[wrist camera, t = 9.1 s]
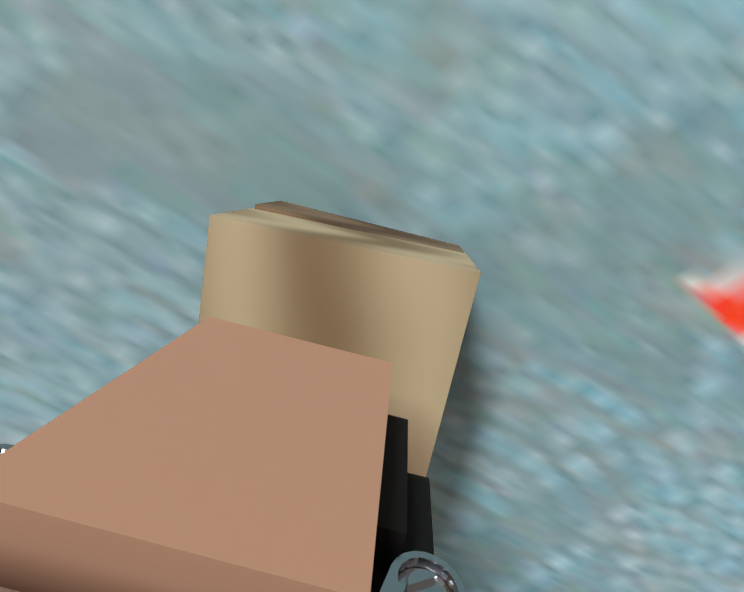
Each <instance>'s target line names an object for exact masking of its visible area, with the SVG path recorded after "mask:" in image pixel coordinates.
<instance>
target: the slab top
mask: <svg viewBox="0 0 744 592" xmlns="http://www.w3.org/2000/svg"><path fill="white" fill-rule="evenodd" d="M480 274H481V272H480V271H479V270H478V268H477V267H476V266H475V264H474V263H473V262H472V260H471V259H470V258H469V257H468V255H467V254H466V253H461V252H457V251H452V250H447V249H442V248H438V247H433V246H428V245H423V244H419V243H414V242H409V241H405V240H400V239H395V238H390V237H386V236H381V235H376V234H371V233H367V232H362V231H357V230H353V229H348V228H343V227H338V226H334V225H329V224H324V223H319V222H315V221H310V220H305V219H301V218H296V217H291V216H286V215H282V214H277V213H272V212H268V211H263V210H258V209H253V208H250V209H244V210H238V211H231V212H225V213H219V214H213V215H210V220H209V229H208V239H207V248H206V258H205V268H204V277H203V287H202V296H201V306H200V315H199V323H201V322H203V321H204V320H206V319H207V318H209V317H212V318H216V319H220V320H224V321H228V322H232V323H236V324H240V325H244V326H248V327H252V328H256V329H260V330H264V331H268V332H272V333H276V334H280V335H284V336H288V337H292V338H296V339H300V340H304V341H308V342H311V343H315V344H319V345H323V346H327V347H331V348H335V349H339V350H343V351H347V352H351V353H355V354H359V355H363V356H367V357H371V358H375V359H379V360H383V361H387V362H391V363H393V365H392V375H391V386H390V396H389V406H388V414H389V415H393V416H397V417H401V418H404V419H408V469H407V472H408V473H412V474H416V475H419V476H423V477H426V475H427V471H428V467H429V464H430V460H431V456H432V452H433V449H434V445H435V441H436V438H437V434H438V430H439V426H440V423H441V419H442V415H443V412H444V408H445V404H446V400H447V397H448V393H449V389H450V386H451V382H452V378H453V374H454V371H455V367H456V363H457V359H458V356H459V352H460V348H461V345H462V341H463V337H464V333H465V330H466V326H467V322H468V319H469V315H470V311H471V307H472V304H473V300H474V296H475V293H476V289H477V285H478V281H479V278H480Z"/></svg>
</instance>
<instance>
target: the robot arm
mask: <svg viewBox="0 0 744 592" xmlns="http://www.w3.org/2000/svg"><path fill="white" fill-rule="evenodd" d="M13 446H14V445H10V444H0V454H2V453H3V452H5V451H7V450H8V449H10V448H11V447H13ZM407 469H408V419H404V418H401V417H397V416H393V415H389V414H388V417H387V427H386V437H385V448H384V458H383V468H382V479H381V489H380V499H379V510H378V520H377V530H376V541H375V551H374V561H373V572H372V582H371V592H466V590H465V587H464V584H463V581H462V580H461V578H460V577H459V575H458V574H457V572H456V571H455V570H454V569H453V568H452V567H451V566H450V565H449V564H448V563H447V562H445V561H444V560H442V559H441V558H439V557H437V556H435V555H434V548H433V532H432V516H431V500H430V484H429V479H428V478H427V477H423V476H419V475H416V474H412V473H408V472H407ZM0 592H19V591H16V590H12V589H8V588H4V587H0Z"/></svg>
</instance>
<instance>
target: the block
mask: <svg viewBox="0 0 744 592" xmlns="http://www.w3.org/2000/svg"><path fill="white" fill-rule="evenodd" d="M392 365H393V363H391V362H387V361H383V360H379V359H375V358H371V357H367V356H363V355H359V354H355V353H351V352H347V351H343V350H339V349H335V348H331V347H327V346H323V345H319V344H315V343H311V342H308V341H304V340H300V339H296V338H292V337H288V336H284V335H280V334H276V333H272V332H268V331H264V330H260V329H256V328H252V327H248V326H244V325H240V324H236V323H232V322H228V321H224V320H220V319H216V318H212V317H209V318H207V319H206V320H204V321H203V322H201V323H199V324H198V325H196V326H195V327H193V328H192V329H190V330H189V331H187V332H186V333H184V334H183V335H181V336H180V337H178V338H177V339H175V340H174V341H172V342H171V343H169V344H168V345H166V346H165V347H163V348H161V349H160V350H158V351H157V352H155V353H154V354H152V355H151V356H149V357H148V358H146V359H145V360H143V361H142V362H140V363H139V364H137V365H136V366H134V367H133V368H131V369H130V370H128V371H127V372H125V373H123V374H122V375H120V376H119V377H117V378H116V379H114V380H113V381H111V382H110V383H108V384H107V385H105V386H104V387H102V388H101V389H99V390H98V391H96V392H95V393H93V394H92V395H90V396H89V397H87V398H86V399H84V400H82V401H81V402H79V403H78V404H76V405H75V406H73V407H72V408H70V409H69V410H67V411H66V412H64V413H63V414H61V415H60V416H58V417H57V418H55V419H54V420H52V421H51V422H49V423H48V424H46V425H44V426H43V427H41V428H40V429H38V430H37V431H35V432H34V433H32V434H31V435H29V436H28V437H26V438H25V439H23V440H22V441H20V442H19V443H17V444H16V445H14V446H13V447H11V448H10V449H8V450H7V451H5V452H3V453H2V454H0V587H4V588H8V589H12V590H16V591H19V592H371V582H372V572H373V561H374V551H375V541H376V530H377V520H378V510H379V499H380V489H381V479H382V468H383V458H384V448H385V437H386V427H387V417H388V406H389V396H390V386H391V375H392Z"/></svg>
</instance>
